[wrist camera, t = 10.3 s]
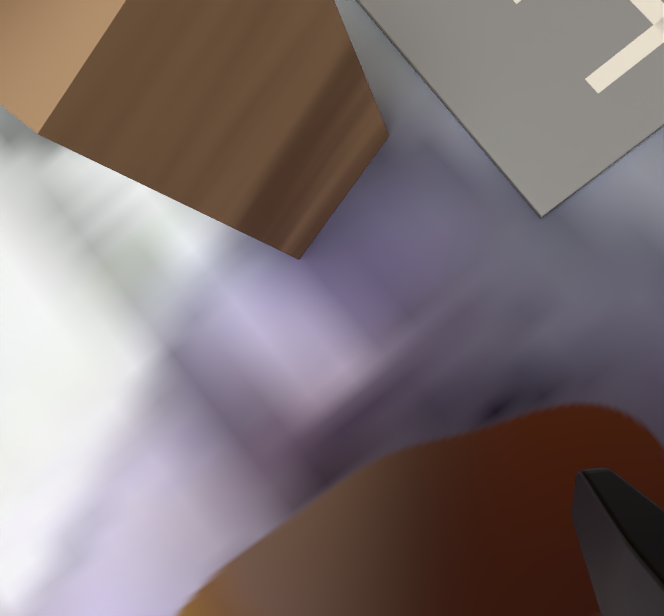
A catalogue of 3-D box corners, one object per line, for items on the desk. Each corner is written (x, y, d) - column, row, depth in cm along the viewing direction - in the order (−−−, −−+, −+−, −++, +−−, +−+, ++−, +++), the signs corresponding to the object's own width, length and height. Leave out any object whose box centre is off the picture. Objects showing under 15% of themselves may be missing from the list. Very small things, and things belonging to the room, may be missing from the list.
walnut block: (389, 135, 20) (254, -195, 8) (298, 259, 20) (37, 134, 8) (273, 57, 21) (-5, -340, 9) (190, 177, 21) (-184, -43, 9)
